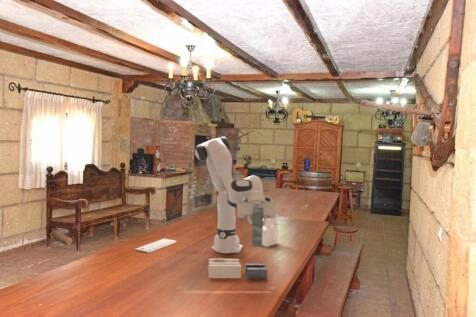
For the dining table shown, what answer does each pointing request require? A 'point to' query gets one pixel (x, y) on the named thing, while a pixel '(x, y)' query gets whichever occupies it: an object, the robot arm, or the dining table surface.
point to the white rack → (224, 269)
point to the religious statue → (270, 232)
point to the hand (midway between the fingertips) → (257, 224)
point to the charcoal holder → (255, 271)
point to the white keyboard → (155, 245)
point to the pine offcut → (218, 259)
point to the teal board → (257, 226)
